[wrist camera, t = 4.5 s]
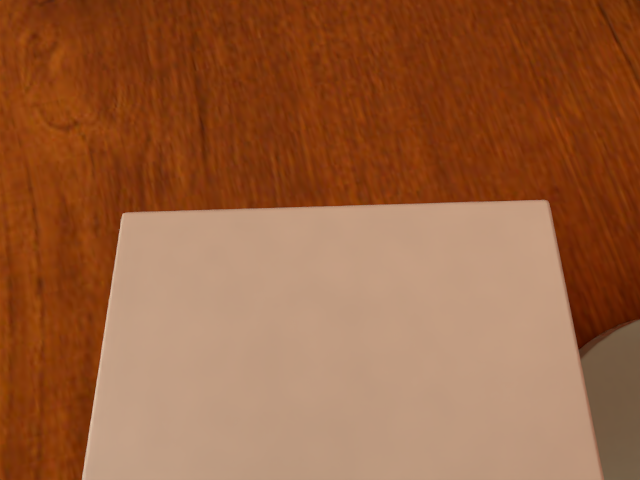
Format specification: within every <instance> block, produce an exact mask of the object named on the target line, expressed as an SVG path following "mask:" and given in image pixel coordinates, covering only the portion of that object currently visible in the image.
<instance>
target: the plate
mask: <svg viewBox="0 0 640 480" xmlns="http://www.w3.org/2000/svg"><path fill="white" fill-rule="evenodd" d="M579 355H580V360H581V365H582V370H583V375H584V380H585V385H586V390H587V396H588V401H589V406H590V411H591V416H592V421H593V426H594V431H595V436H596V441H597V446H598V451H599V456H600V461H601V466H602V471H603V476H604V480H640V318H637V319H634V320H631V321H628V322H624V323H622V324H620V325H617V326H615V327H613V328H611V329H609V330H607V331H605V332H603V333H601V334H600V335H598V336H597V337H595V338H594V339H592V340H591V341H590V342H588V343H587V344H585V345H584V346H583V347H582V348H581V349H579Z"/></svg>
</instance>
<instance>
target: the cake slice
mask: <svg viewBox="0 0 640 480" xmlns="http://www.w3.org/2000/svg"><path fill="white" fill-rule="evenodd" d="M82 480H604V476H603V471H602V466H601V461H600V456H599V451H598V446H597V441H596V436H595V431H594V426H593V421H592V416H591V411H590V406H589V401H588V396H587V390H586V385H585V380H584V375H583V370H582V365H581V360H580V355H579V350H578V345H577V340H576V335H575V330H574V325H573V320H572V315H571V310H570V305H569V300H568V295H567V290H566V284H565V279H564V274H563V269H562V264H561V259H560V254H559V249H558V244H557V239H556V234H555V229H554V224H553V219H552V214H551V209H550V204H549V202H548V201H547V200H525V201H492V202H459V203H426V204H393V205H359V206H326V207H293V208H260V209H226V210H193V211H160V212H127V213H123V215H122V218H121V225H120V232H119V238H118V245H117V251H116V258H115V265H114V271H113V278H112V285H111V291H110V298H109V304H108V311H107V318H106V324H105V331H104V337H103V344H102V351H101V357H100V364H99V371H98V377H97V384H96V390H95V397H94V404H93V410H92V417H91V423H90V430H89V437H88V443H87V450H86V456H85V463H84V470H83V476H82Z"/></svg>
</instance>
